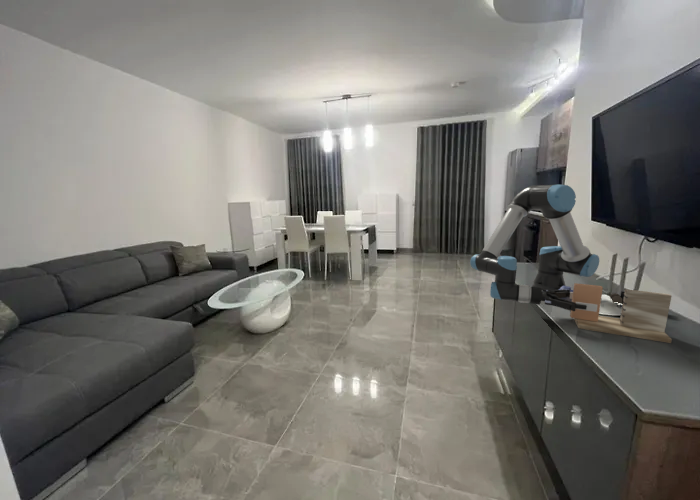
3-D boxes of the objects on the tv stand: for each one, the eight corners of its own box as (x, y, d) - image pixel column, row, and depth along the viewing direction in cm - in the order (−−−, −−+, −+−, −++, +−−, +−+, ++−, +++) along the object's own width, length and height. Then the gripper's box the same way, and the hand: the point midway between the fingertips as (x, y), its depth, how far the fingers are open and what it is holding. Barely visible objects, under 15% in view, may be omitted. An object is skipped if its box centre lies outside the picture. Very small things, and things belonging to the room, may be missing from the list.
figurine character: (612, 311, 136) (659, 314, 127) (612, 294, 135) (659, 297, 126) (609, 306, 141) (654, 309, 132) (609, 290, 140) (655, 292, 131)
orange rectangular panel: (570, 315, 123) (574, 283, 120) (596, 319, 119) (601, 285, 116) (570, 317, 121) (575, 284, 118) (597, 321, 117) (602, 287, 114)
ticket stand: (572, 315, 128) (576, 280, 125) (654, 327, 115) (661, 289, 113) (578, 328, 116) (583, 290, 113) (671, 343, 103) (679, 300, 100)
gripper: (527, 294, 139) (585, 301, 129) (530, 312, 118) (599, 323, 108) (529, 279, 138) (587, 285, 128) (532, 294, 116) (602, 303, 106)
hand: (592, 302), depth 118 cm, fingers open, 12 cm apart
